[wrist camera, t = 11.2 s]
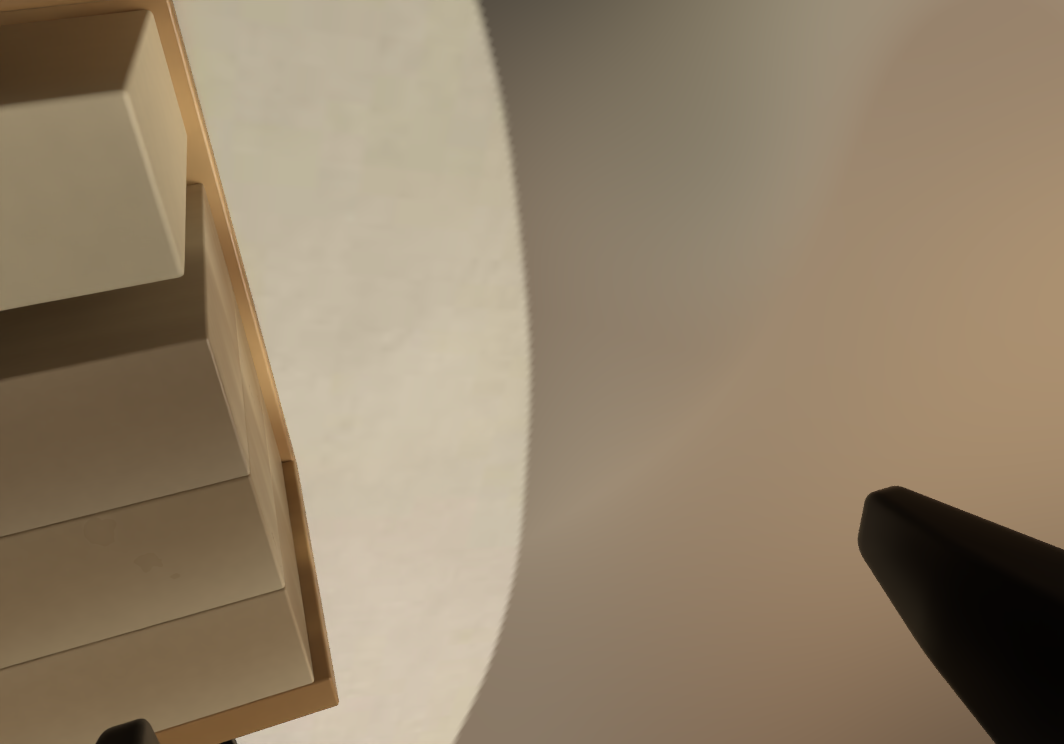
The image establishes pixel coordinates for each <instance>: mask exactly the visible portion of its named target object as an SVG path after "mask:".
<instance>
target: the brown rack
mask: <svg viewBox="0 0 1064 744" xmlns="http://www.w3.org/2000/svg"><path fill="white" fill-rule="evenodd" d="M138 10H149V11H151V12H152V14H153V16H154V19H155V23H156V26H157V30H158V34H159V37H160V41H161V44H162V48H163V51H164V55H165V59H166V62H167V66H168V69H169V73H170V76H171V80H172V84H173V87H174V91H175V94H176V98H177V101H178V105H179V109H180V112H181V116H182V119H183V123H184V126H185V130H186V133H187V168H186V216H185V265H184V275H182V276H181V277H179V278H173V279H168V280H162V281H157V282H152V283H146V284H141V285H136V286H130V287H125V288H120V289H114V290H109V291H104V292H98V293H93V294H88V295H82V296H77V297H71V298H66V299H61V300H55V301H50V302H45V303H39V304H34V305H29V306H23V307H18V308H13V309H7V310H2V311H0V744H95V743H96V742H97V740H98V738H99V737H100V735H101V734H102V733H103V732H104V731H105V730H106V729H108V728H110V727H113V726H116V725H119V724H123V723H126V722H129V721H132V720H136V719H142V718H143V719H146V720H147V721H148V722H149V723H150V725H151V726H152V728H153V730H154V732H155V734H156V736H157V739H158V741H159V743H160V744H219V743H222V742H225V741H229V740H232V739H235V738H238V737H241V736H244V735H247V734H250V733H253V732H256V731H259V730H263V729H266V728H269V727H272V726H275V725H278V724H281V723H284V722H287V721H290V720H293V719H297V718H300V717H303V716H306V715H309V714H312V713H315V712H318V711H321V710H324V709H327V708H331V707H334V706H337V705H338V703H339V699H338V693H337V688H336V682H335V676H334V671H333V665H332V659H331V654H330V648H329V642H328V637H327V631H326V625H325V620H324V614H323V608H322V603H321V597H320V591H319V586H318V580H317V574H316V569H315V563H314V557H313V552H312V546H311V540H310V535H309V529H308V523H307V518H306V512H305V506H304V501H303V495H302V489H301V484H300V478H299V473H298V467H297V463H296V459H295V455H294V452H293V448H292V444H291V440H290V437H289V433H288V429H287V426H286V422H285V418H284V414H283V411H282V407H281V403H280V399H279V396H278V392H277V388H276V385H275V381H274V377H273V373H272V370H271V366H270V362H269V359H268V355H267V351H266V347H265V344H264V340H263V336H262V332H261V329H260V325H259V321H258V318H257V314H256V310H255V306H254V303H253V299H252V295H251V292H250V288H249V284H248V280H247V277H246V273H245V269H244V265H243V262H242V258H241V254H240V251H239V247H238V243H237V239H236V236H235V232H234V228H233V225H232V221H231V217H230V213H229V210H228V206H227V202H226V199H225V195H224V191H223V187H222V184H221V180H220V176H219V172H218V169H217V165H216V161H215V158H214V154H213V150H212V146H211V143H210V139H209V135H208V132H207V128H206V124H205V120H204V117H203V113H202V109H201V105H200V102H199V98H198V94H197V91H196V87H195V83H194V79H193V76H192V72H191V68H190V65H189V61H188V57H187V53H186V50H185V46H184V42H183V38H182V35H181V31H180V27H179V24H178V20H177V16H176V12H175V9H174V5H173V1H172V0H0V26H2V25H11V24H20V23H29V22H38V21H47V20H56V19H65V18H75V17H84V16H93V15H102V14H111V13H120V12H129V11H138Z"/></svg>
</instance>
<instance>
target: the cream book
mask: <svg viewBox="0 0 1064 744" xmlns="http://www.w3.org/2000/svg"><path fill="white" fill-rule="evenodd" d="M186 168H187V133H186V130H185V126H184V123H183V119H182V116H181V112H180V109H179V105H178V101H177V98H176V94H175V91H174V87H173V84H172V80H171V76H170V73H169V69H168V66H167V62H166V59H165V55H164V51H163V48H162V44H161V41H160V37H159V34H158V30H157V26H156V23H155V19H154V16H153V14H152V12H151V11H149V10H138V11H129V12H120V13H111V14H102V15H93V16H84V17H75V18H65V19H56V20H47V21H38V22H29V23H20V24H11V25H2V26H0V311H2V310H7V309H13V308H18V307H23V306H29V305H34V304H39V303H45V302H50V301H55V300H61V299H66V298H71V297H77V296H82V295H88V294H93V293H98V292H104V291H109V290H114V289H120V288H125V287H130V286H136V285H141V284H146V283H152V282H157V281H162V280H168V279H173V278H179V277H181V276H182V275H184V265H185V216H186Z"/></svg>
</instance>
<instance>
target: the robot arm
mask: <svg viewBox="0 0 1064 744" xmlns="http://www.w3.org/2000/svg"><path fill="white" fill-rule="evenodd" d="M858 546H859V550H860V552H861V555H862V557H863V558H864V560H865V562H866V563H867V565H868V566H869V568H870V569H871V570H872V572H873V574H874V576H875V577H876V579H877V580H878V582H879V583H880V585H881V586H882V588H883V590H884V591H885V592H886V594H887V596H888V597H889V599H890V601H891V602H892V604H893V605H894V607H895V608H896V610H897V611H898V613H899V615H900V616H901V618H902V619H903V621H904V622H905V624H906V625H907V627H908V629H909V630H910V632H911V633H912V635H913V636H914V638H915V639H916V641H917V642H918V644H919V645H920V647H921V648H922V649H923V651H924V652H925V654H926V655H927V657H928V658H929V659H930V661H931V662H932V663H933V665H934V666H935V667H936V669H937V670H938V671H939V672H940V674H941V675H942V676H943V678H944V679H945V680H946V681H947V683H949V685H950V686H951V688H952V689H953V690H954V692H955V693H956V694H957V695H958V697H959V698H960V699H961V700H962V702H963V703H964V704H965V705H966V707H967V708H968V709H969V710H970V712H971V713H972V714H973V716H974V717H975V718H976V719H977V721H978V722H979V723H980V725H981V726H982V727H983V728H984V730H985V731H986V732H987V733H988V735H989V736H990V737H991V738H992V740H993V741H994V742H995V744H1064V550H1063V549H1061V548H1058V547H1055V546H1053V545H1050V544H1048V543H1045V542H1043V541H1040V540H1037V539H1035V538H1032V537H1029V536H1027V535H1025V534H1022V533H1019V532H1016V531H1014V530H1011V529H1009V528H1007V527H1004V526H1001V525H998V524H996V523H994V522H991V521H988V520H986V519H983V518H981V517H978V516H976V515H973V514H970V513H968V512H965V511H963V510H960V509H958V508H955V507H952V506H950V505H947V504H944V503H942V502H940V501H937V500H935V499H932V498H929V497H927V496H924V495H922V494H919V493H917V492H914V491H911V490H909V489H906V488H903V487H899V486H891V487H888V488H884V489H882V490H878V491H875V492H872V493H870V494H869V495H868V496H867V498H866V500H865V503H864V508H863V513H862V518H861V523H860V528H859V533H858ZM95 744H160V743H159V741H158V739H157V736H156V734H155V732H154V730H153V728H152V726H151V725H150V723H149V722H148V721H147V720H146V719H143V718H142V719H136V720H132V721H129V722H126V723H123V724H119V725H116V726H113V727H110V728H108V729H106V730H105V731H104V732H103V733H102V734H101V735H100V737H99V738H98V740H97V742H96V743H95ZM219 744H237V742H236V740H235V739H232V740H229V741H225V742H222V743H219Z"/></svg>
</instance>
